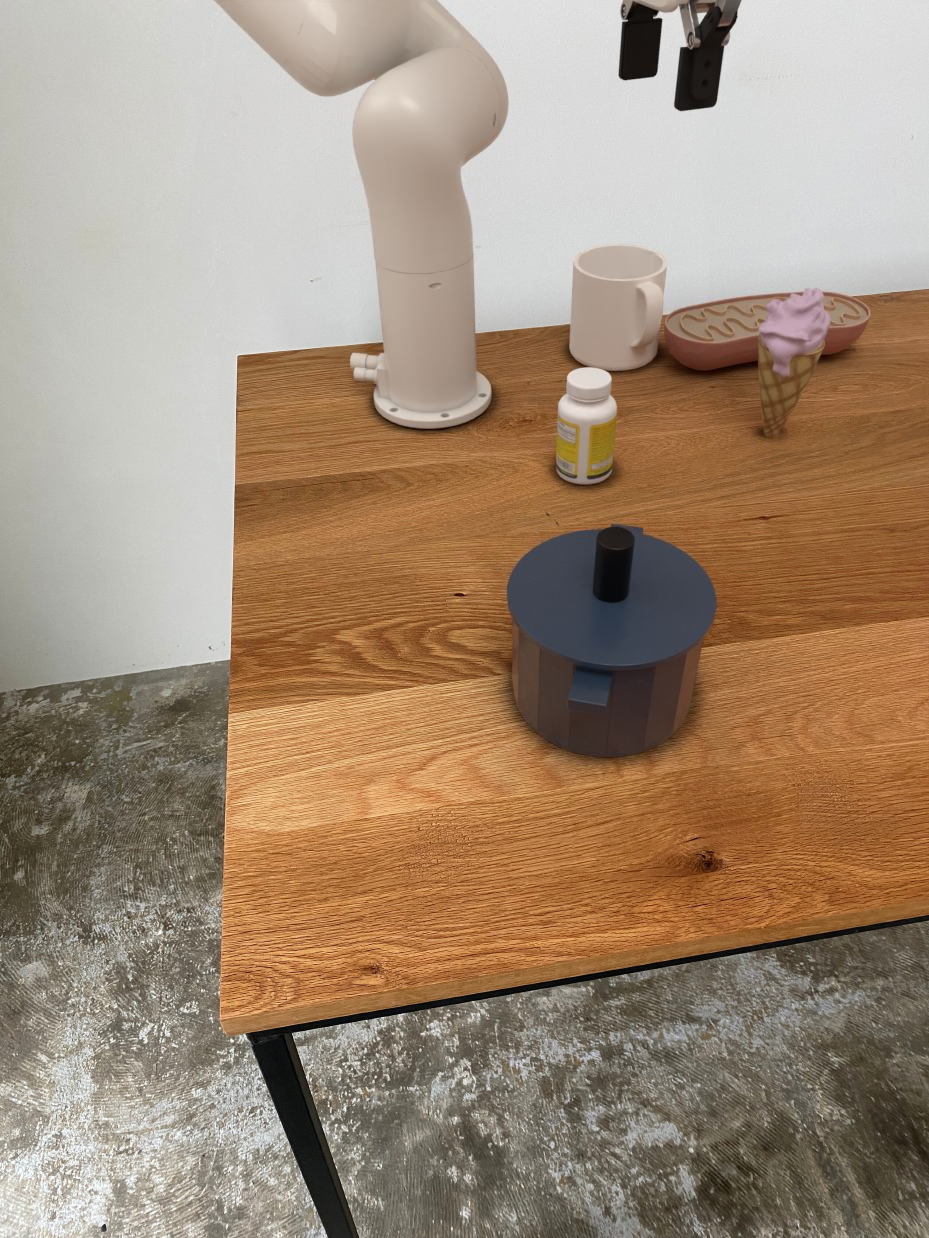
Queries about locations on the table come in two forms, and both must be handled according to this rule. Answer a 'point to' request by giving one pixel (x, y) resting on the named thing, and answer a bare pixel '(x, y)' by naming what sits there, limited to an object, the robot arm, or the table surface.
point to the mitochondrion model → (750, 328)
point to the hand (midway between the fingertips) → (664, 92)
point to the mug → (616, 306)
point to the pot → (601, 699)
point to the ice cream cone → (789, 354)
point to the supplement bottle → (586, 427)
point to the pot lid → (611, 599)
